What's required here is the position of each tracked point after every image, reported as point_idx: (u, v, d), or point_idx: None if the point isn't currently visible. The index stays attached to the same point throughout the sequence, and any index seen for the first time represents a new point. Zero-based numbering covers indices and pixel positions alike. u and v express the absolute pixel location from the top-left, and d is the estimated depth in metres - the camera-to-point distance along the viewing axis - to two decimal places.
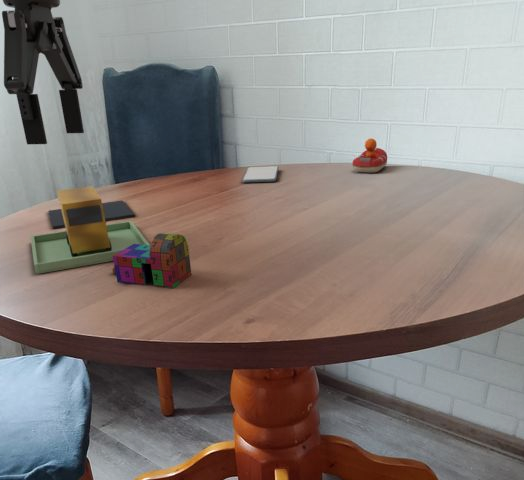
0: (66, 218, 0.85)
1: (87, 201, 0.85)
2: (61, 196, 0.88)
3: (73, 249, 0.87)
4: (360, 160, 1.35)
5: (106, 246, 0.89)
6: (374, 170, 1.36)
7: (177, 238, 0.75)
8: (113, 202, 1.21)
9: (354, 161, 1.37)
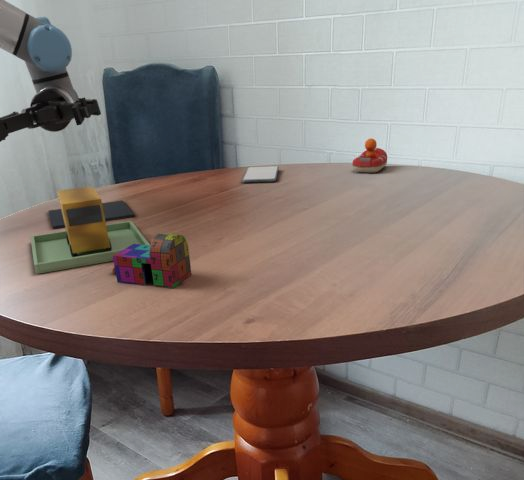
0: (66, 218, 0.85)
1: (87, 201, 0.85)
2: (61, 196, 0.88)
3: (73, 249, 0.87)
4: (360, 160, 1.35)
5: (106, 246, 0.89)
6: (374, 170, 1.36)
7: (177, 238, 0.75)
8: (113, 202, 1.21)
9: (354, 161, 1.37)
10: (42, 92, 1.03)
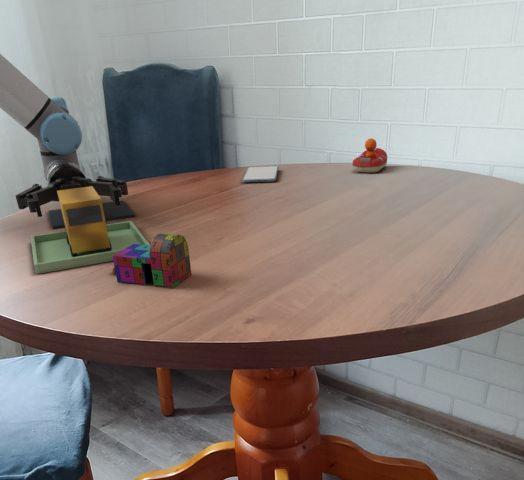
0: (66, 218, 0.85)
1: (87, 201, 0.85)
2: (61, 196, 0.88)
3: (73, 249, 0.87)
4: (360, 160, 1.35)
5: (106, 246, 0.89)
6: (374, 170, 1.36)
7: (177, 238, 0.75)
8: (113, 202, 1.21)
9: (354, 161, 1.37)
10: (63, 168, 1.08)
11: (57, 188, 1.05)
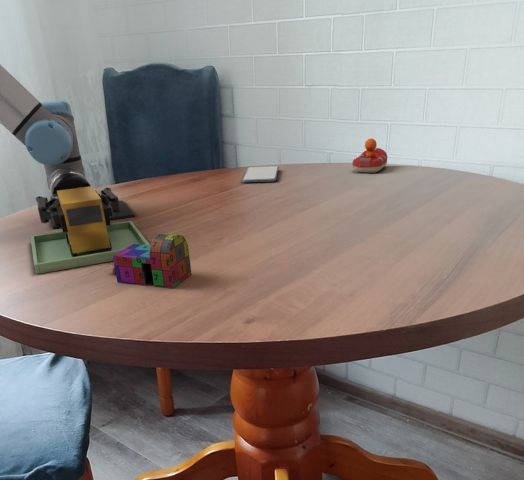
0: (66, 218, 0.85)
1: (87, 201, 0.85)
2: (61, 196, 0.88)
3: (73, 249, 0.87)
4: (360, 160, 1.35)
5: (106, 246, 0.89)
6: (374, 170, 1.36)
7: (177, 238, 0.75)
8: None
9: (354, 161, 1.37)
10: (68, 177, 1.00)
11: None
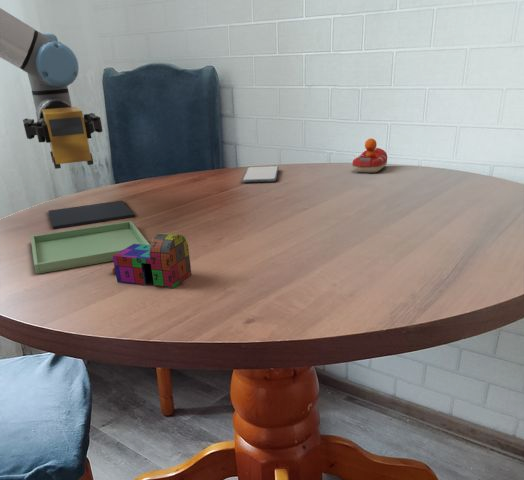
0: (49, 128, 0.90)
1: (69, 112, 0.90)
2: (45, 111, 0.94)
3: (56, 160, 0.93)
4: (360, 160, 1.35)
5: (87, 159, 0.94)
6: (374, 170, 1.36)
7: (177, 238, 0.75)
8: (113, 202, 1.21)
9: (354, 161, 1.37)
10: (54, 103, 1.06)
11: None
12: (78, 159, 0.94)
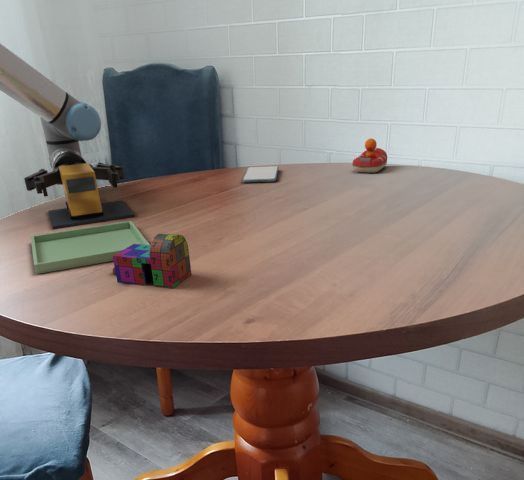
0: (66, 187, 1.05)
1: (83, 173, 1.05)
2: (62, 170, 1.09)
3: (72, 213, 1.07)
4: (360, 160, 1.35)
5: (99, 211, 1.09)
6: (374, 170, 1.36)
7: (177, 238, 0.75)
8: (113, 202, 1.21)
9: (354, 161, 1.37)
10: (67, 155, 1.20)
11: None
12: (91, 211, 1.09)
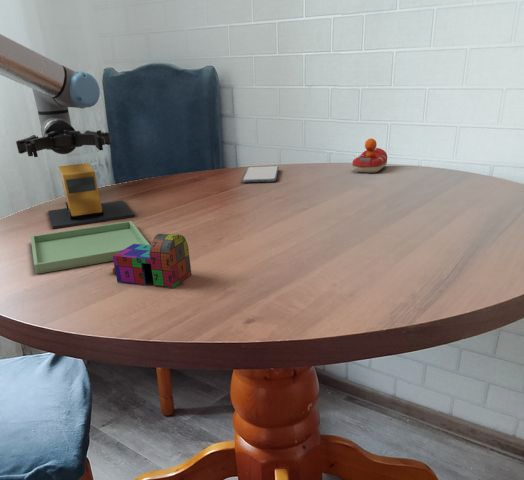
0: (66, 187, 1.05)
1: (83, 173, 1.05)
2: (62, 170, 1.09)
3: (72, 213, 1.07)
4: (360, 160, 1.35)
5: (99, 211, 1.09)
6: (374, 170, 1.36)
7: (177, 238, 0.75)
8: (113, 202, 1.21)
9: (354, 161, 1.37)
10: (57, 122, 1.28)
11: (51, 138, 1.25)
12: (91, 211, 1.09)
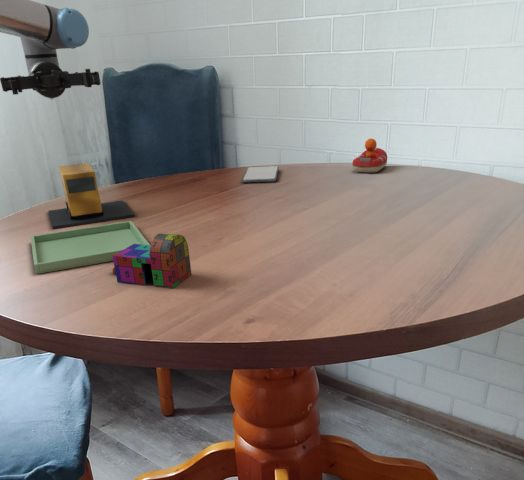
0: (66, 187, 1.05)
1: (83, 173, 1.05)
2: (62, 170, 1.09)
3: (72, 213, 1.07)
4: (360, 160, 1.35)
5: (99, 211, 1.09)
6: (374, 170, 1.36)
7: (177, 238, 0.75)
8: (113, 202, 1.21)
9: (354, 161, 1.37)
10: (44, 63, 1.22)
11: (38, 78, 1.19)
12: (91, 211, 1.09)
